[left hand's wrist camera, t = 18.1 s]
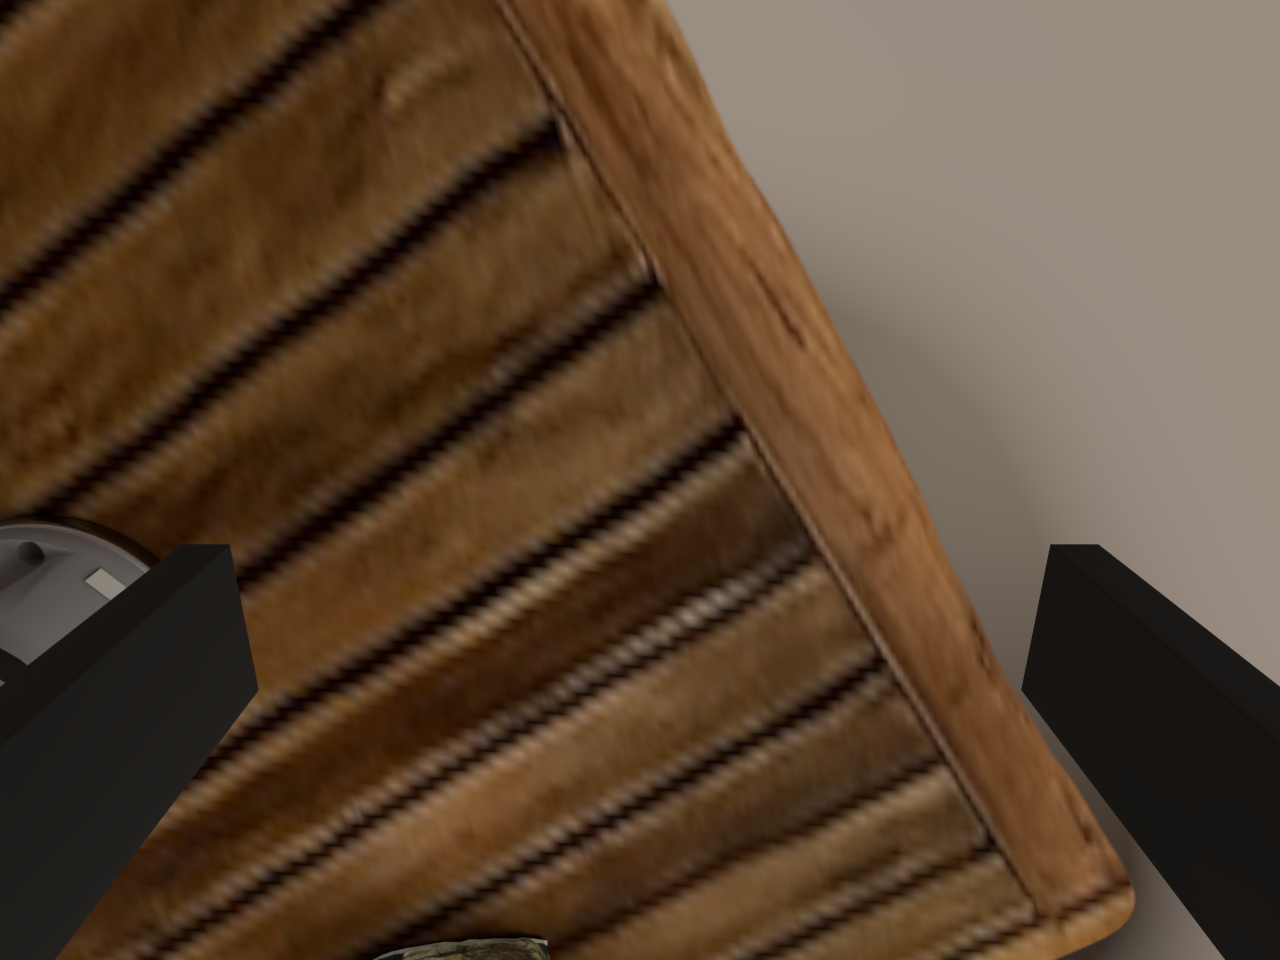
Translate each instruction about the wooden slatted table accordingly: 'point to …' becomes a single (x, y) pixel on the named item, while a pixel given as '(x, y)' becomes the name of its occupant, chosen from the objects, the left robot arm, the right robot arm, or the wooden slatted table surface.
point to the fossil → (475, 950)
